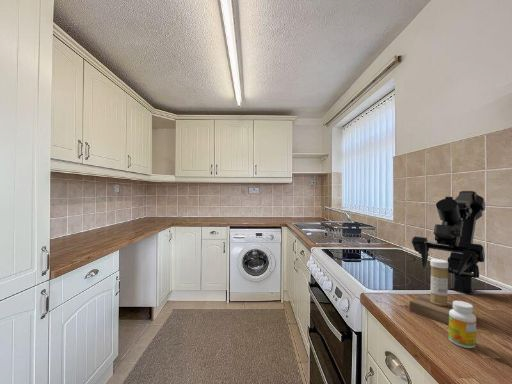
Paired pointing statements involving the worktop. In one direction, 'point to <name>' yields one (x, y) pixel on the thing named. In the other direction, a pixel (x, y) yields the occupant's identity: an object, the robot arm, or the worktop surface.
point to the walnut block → (431, 309)
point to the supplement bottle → (462, 325)
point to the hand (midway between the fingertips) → (440, 270)
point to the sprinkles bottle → (439, 282)
